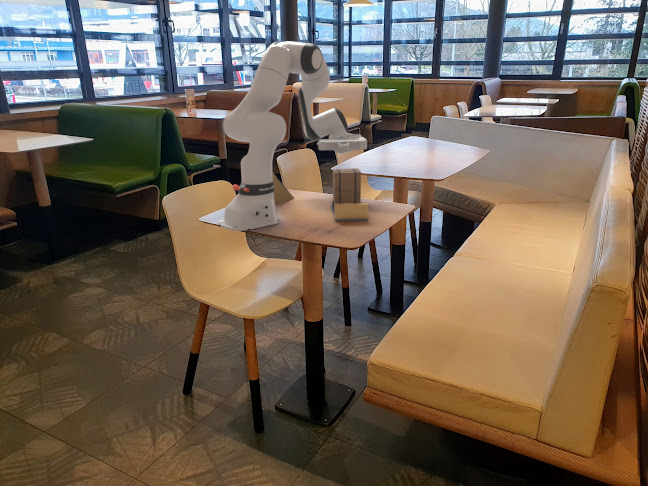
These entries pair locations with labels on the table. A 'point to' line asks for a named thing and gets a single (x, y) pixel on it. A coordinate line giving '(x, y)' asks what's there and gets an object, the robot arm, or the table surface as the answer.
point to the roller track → (349, 211)
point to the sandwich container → (280, 191)
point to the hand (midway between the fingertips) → (344, 147)
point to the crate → (346, 186)
